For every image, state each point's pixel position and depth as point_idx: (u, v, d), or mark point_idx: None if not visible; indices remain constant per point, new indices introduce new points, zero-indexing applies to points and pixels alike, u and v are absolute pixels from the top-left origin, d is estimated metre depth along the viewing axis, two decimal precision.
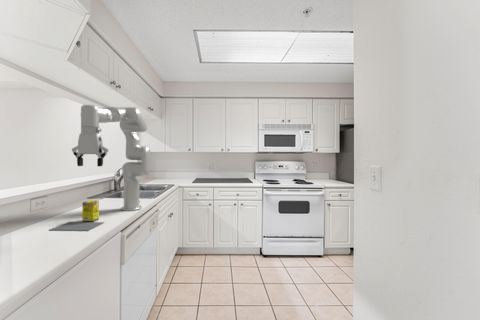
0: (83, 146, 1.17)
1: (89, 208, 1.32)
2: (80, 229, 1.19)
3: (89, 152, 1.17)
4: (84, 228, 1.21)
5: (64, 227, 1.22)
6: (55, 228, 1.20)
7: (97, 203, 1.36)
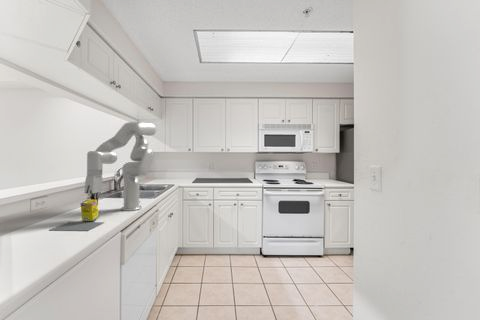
0: (97, 186, 1.37)
1: (88, 209, 1.31)
2: (80, 229, 1.19)
3: (99, 191, 1.40)
4: (84, 228, 1.21)
5: (64, 227, 1.22)
6: (55, 228, 1.20)
7: (95, 203, 1.35)
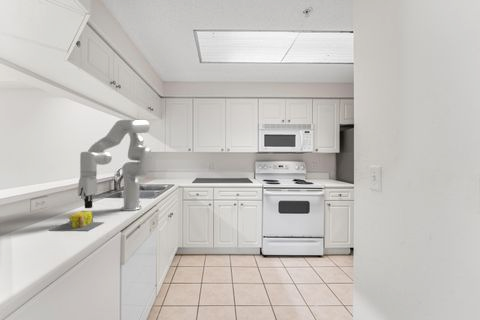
0: (91, 188, 1.31)
1: None
2: (80, 229, 1.19)
3: (93, 193, 1.34)
4: (84, 228, 1.21)
5: (64, 227, 1.22)
6: (55, 228, 1.20)
7: (83, 218, 1.23)
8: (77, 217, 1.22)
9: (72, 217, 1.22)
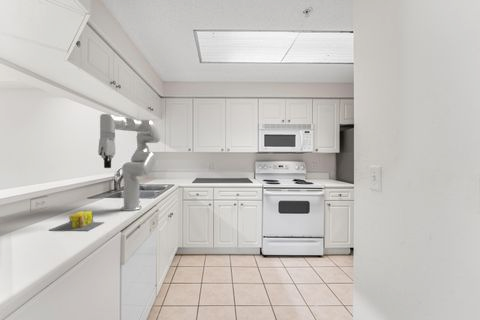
0: (110, 149, 1.39)
1: None
2: (80, 229, 1.19)
3: (112, 154, 1.41)
4: (84, 228, 1.21)
5: (64, 227, 1.22)
6: (55, 228, 1.20)
7: (83, 218, 1.23)
8: (77, 217, 1.22)
9: (72, 217, 1.22)
